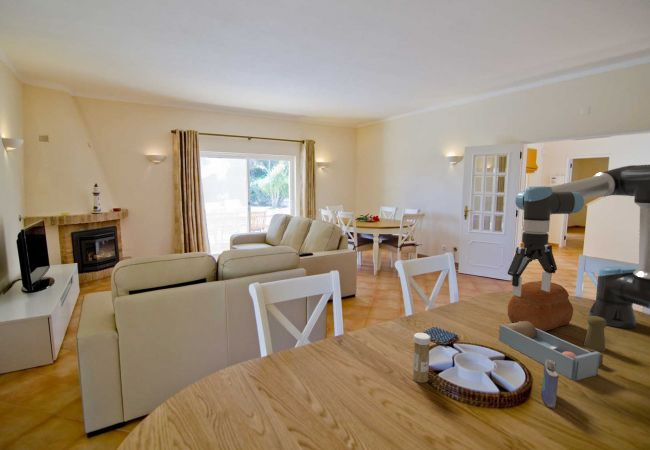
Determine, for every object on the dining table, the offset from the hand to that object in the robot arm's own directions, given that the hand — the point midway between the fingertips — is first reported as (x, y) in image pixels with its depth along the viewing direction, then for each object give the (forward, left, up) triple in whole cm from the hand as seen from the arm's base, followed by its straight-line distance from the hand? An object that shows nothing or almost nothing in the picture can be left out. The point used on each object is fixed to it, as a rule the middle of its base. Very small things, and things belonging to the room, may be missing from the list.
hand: (531, 293), depth 116 cm
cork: (-23, +8, -20) cm, 31 cm away
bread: (-24, -14, -20) cm, 34 cm away
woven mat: (+24, -16, -21) cm, 36 cm away
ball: (0, +15, -17) cm, 22 cm away
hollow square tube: (-11, +15, -20) cm, 27 cm away
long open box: (0, +6, -20) cm, 21 cm away
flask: (+20, +23, -20) cm, 37 cm away
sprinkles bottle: (+47, +4, -20) cm, 51 cm away
